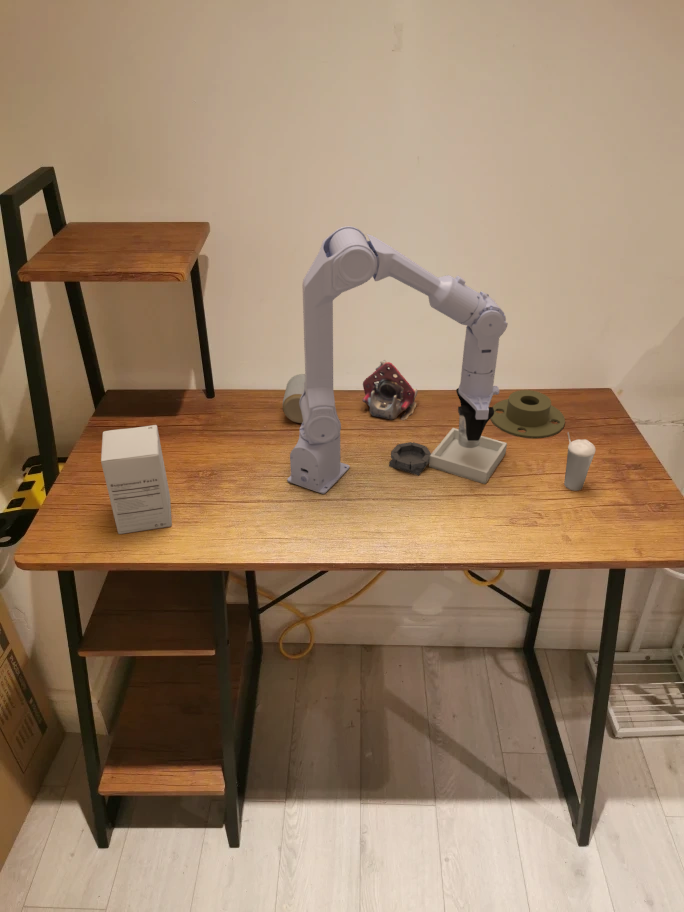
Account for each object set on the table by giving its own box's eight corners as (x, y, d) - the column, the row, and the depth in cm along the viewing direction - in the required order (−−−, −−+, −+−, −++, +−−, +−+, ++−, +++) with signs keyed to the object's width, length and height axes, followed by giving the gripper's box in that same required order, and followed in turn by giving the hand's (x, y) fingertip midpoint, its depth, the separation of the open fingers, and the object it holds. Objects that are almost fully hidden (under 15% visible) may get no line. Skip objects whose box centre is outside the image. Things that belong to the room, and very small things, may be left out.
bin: (485, 484, 129) (486, 472, 128) (428, 466, 134) (429, 455, 132) (505, 453, 137) (507, 443, 136) (451, 438, 142) (452, 427, 140)
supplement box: (118, 502, 125) (101, 429, 117) (170, 495, 127) (158, 423, 119) (116, 535, 118) (99, 461, 110) (172, 527, 120) (159, 453, 111)
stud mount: (420, 477, 131) (420, 468, 130) (385, 466, 134) (385, 457, 133) (435, 458, 136) (436, 449, 135) (401, 448, 139) (402, 438, 138)
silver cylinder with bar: (459, 448, 131) (461, 414, 127) (455, 437, 135) (456, 402, 131) (483, 447, 132) (485, 412, 127) (478, 435, 135) (480, 401, 131)
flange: (484, 410, 142) (562, 426, 137) (500, 377, 153) (572, 390, 149) (482, 431, 145) (558, 446, 140) (498, 396, 156) (568, 409, 151)
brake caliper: (350, 409, 146) (364, 352, 146) (365, 417, 157) (377, 363, 157) (404, 421, 143) (417, 362, 143) (415, 427, 153) (428, 372, 153)
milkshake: (565, 473, 132) (574, 426, 126) (591, 485, 129) (602, 438, 123) (551, 483, 129) (560, 436, 124) (578, 496, 126) (589, 449, 121)
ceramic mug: (281, 424, 146) (280, 391, 142) (287, 404, 153) (286, 372, 148) (333, 427, 145) (334, 394, 141) (337, 406, 152) (337, 374, 148)
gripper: (510, 386, 118) (500, 454, 126) (494, 347, 130) (486, 411, 138) (467, 387, 118) (460, 455, 126) (455, 347, 130) (449, 412, 138)
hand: (471, 432), depth 132 cm, fingers closed on silver cylinder with bar, 4 cm apart
